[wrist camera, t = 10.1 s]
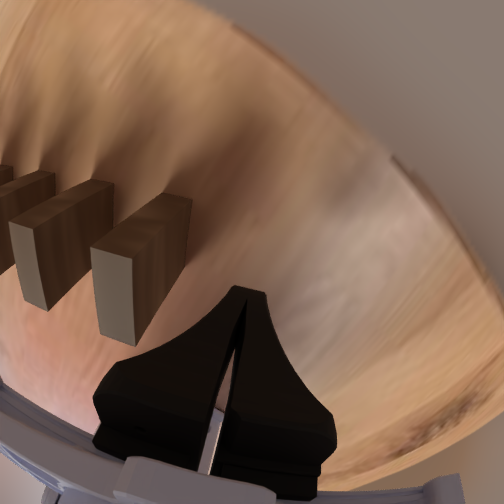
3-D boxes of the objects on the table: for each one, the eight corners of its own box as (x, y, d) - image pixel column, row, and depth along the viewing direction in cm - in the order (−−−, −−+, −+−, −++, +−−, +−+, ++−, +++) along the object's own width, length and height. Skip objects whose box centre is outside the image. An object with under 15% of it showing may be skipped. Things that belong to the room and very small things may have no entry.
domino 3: (192, 199, 16) (132, 259, 10) (184, 268, 18) (135, 347, 12) (161, 192, 16) (90, 247, 10) (156, 260, 18) (100, 334, 12)
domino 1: (54, 173, 16) (-25, 210, 10) (57, 232, 18) (-9, 282, 12) (37, 170, 16) (-39, 205, 10) (41, 227, 18) (-24, 273, 12)
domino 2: (113, 183, 16) (32, 228, 10) (113, 248, 18) (47, 311, 12) (90, 179, 16) (8, 221, 10) (91, 242, 18) (24, 300, 12)
